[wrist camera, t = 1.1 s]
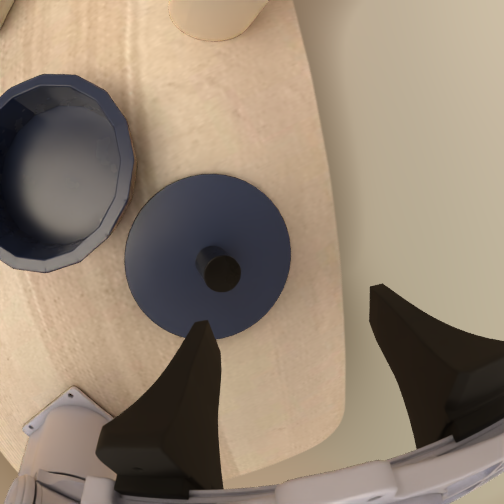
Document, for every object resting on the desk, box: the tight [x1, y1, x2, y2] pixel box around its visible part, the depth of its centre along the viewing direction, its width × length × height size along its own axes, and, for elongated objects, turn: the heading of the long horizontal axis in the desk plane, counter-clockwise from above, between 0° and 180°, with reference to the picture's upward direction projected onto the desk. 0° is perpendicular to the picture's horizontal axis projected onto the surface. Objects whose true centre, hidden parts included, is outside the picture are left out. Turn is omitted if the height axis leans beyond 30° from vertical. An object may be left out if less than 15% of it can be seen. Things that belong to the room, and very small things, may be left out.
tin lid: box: [125, 174, 291, 339], centre depth 22 cm, size 13×13×5 cm
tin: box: [0, 74, 137, 273], centre depth 17 cm, size 12×12×5 cm
